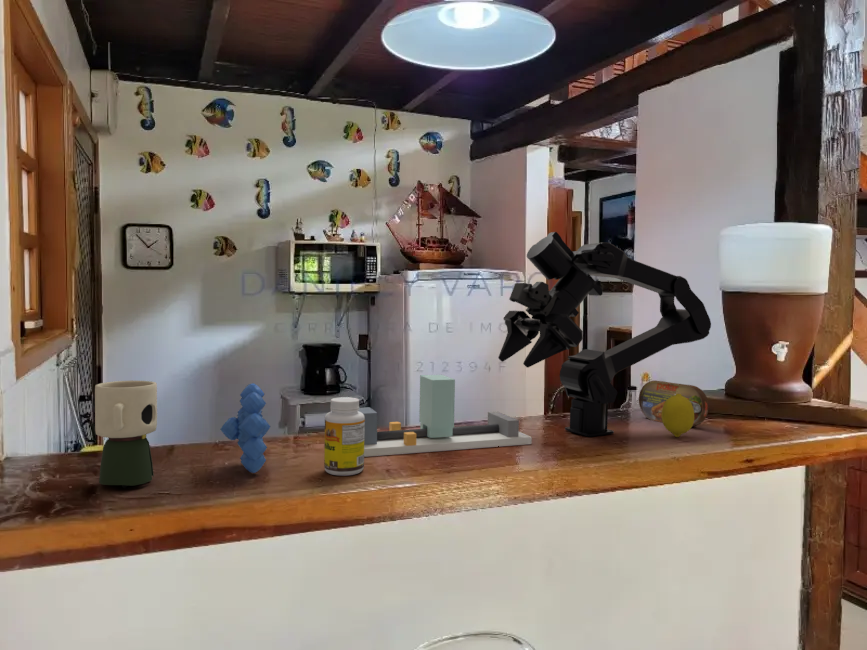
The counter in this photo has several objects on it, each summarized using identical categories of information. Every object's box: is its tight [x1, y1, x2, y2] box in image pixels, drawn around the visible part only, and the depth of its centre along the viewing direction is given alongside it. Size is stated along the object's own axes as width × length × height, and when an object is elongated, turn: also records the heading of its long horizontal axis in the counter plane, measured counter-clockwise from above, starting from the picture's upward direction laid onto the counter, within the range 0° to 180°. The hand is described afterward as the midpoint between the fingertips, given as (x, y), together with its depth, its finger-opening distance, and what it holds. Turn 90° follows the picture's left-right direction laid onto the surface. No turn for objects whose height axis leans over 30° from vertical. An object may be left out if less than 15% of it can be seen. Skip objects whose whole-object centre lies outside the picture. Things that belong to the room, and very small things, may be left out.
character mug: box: [94, 380, 158, 489], centre depth 79 cm, size 11×7×13 cm, turn 15°
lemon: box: [661, 394, 694, 438], centre depth 112 cm, size 6×6×8 cm
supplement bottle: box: [323, 396, 365, 477], centre depth 87 cm, size 6×6×10 cm
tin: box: [638, 380, 710, 427], centre depth 125 cm, size 15×3×8 cm, turn 32°
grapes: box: [220, 382, 271, 474], centre depth 86 cm, size 12×7×12 cm, turn 19°
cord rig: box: [359, 406, 533, 458], centre depth 104 cm, size 30×10×6 cm, turn 110°
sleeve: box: [418, 374, 456, 438], centre depth 104 cm, size 4×6×10 cm, turn 20°
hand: (512, 362), depth 108 cm, fingers open, 9 cm apart
